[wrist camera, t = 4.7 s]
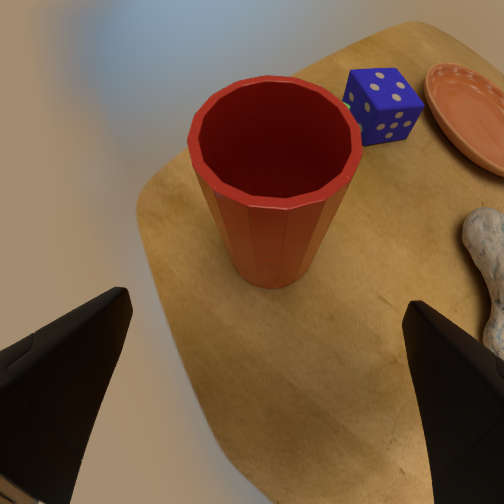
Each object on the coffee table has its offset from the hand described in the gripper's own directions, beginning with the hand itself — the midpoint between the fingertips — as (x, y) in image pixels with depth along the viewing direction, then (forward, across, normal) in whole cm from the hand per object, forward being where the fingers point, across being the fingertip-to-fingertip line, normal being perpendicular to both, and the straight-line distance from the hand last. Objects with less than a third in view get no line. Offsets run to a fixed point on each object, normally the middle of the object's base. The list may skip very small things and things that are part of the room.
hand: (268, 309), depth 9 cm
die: (+22, -9, -4) cm, 24 cm away
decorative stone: (+11, -19, +7) cm, 23 cm away
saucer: (+24, -23, -6) cm, 34 cm away
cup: (+13, 0, +4) cm, 13 cm away
